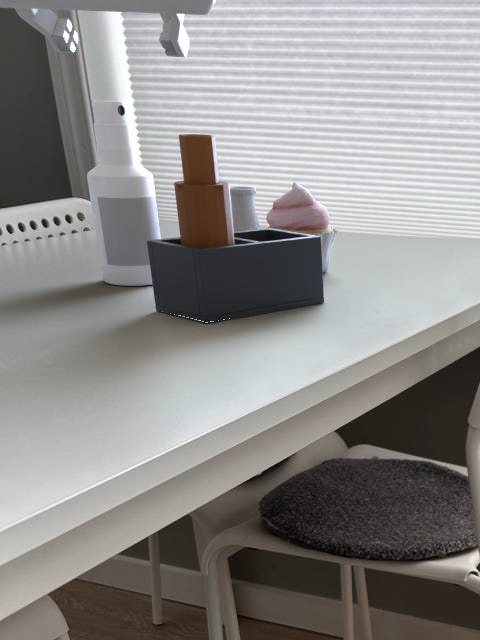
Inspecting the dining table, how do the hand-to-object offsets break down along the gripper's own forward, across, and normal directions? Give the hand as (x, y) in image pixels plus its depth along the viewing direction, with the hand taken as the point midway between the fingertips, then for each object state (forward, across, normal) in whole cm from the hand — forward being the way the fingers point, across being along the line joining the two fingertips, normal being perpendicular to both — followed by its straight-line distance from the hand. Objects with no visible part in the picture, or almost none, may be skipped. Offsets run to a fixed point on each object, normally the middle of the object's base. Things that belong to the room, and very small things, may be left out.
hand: (123, 48), depth 75 cm
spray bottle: (+32, +14, -1) cm, 35 cm away
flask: (+35, +2, -3) cm, 35 cm away
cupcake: (+42, -1, -10) cm, 43 cm away
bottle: (+23, -1, +7) cm, 24 cm away
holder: (+26, -2, +6) cm, 26 cm away
